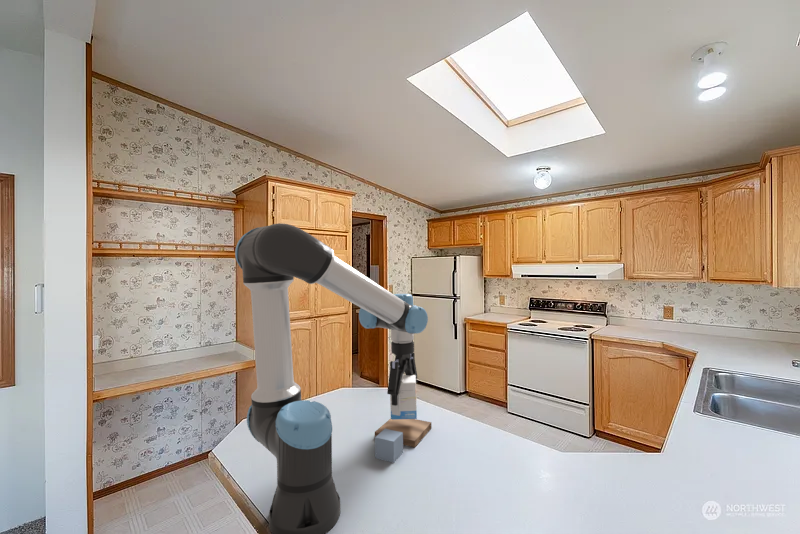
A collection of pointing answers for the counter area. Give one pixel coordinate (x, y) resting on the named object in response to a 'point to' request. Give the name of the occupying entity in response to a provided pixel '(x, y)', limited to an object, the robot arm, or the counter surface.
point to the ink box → (407, 398)
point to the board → (407, 429)
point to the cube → (389, 445)
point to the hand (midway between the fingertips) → (403, 408)
